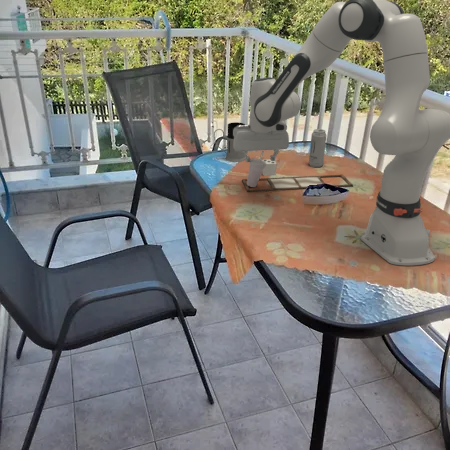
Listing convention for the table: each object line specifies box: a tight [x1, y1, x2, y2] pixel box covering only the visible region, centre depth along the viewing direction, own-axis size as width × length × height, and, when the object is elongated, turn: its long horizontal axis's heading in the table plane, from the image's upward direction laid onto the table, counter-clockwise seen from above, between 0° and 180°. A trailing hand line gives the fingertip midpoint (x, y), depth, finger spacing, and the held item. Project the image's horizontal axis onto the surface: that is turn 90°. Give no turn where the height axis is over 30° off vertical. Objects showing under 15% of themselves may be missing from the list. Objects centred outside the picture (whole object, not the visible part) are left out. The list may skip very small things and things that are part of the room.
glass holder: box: [213, 121, 246, 163], centre depth 200 cm, size 9×14×15 cm, turn 105°
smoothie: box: [246, 150, 266, 188], centre depth 174 cm, size 6×6×14 cm
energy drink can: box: [308, 128, 327, 168], centre depth 194 cm, size 6×6×15 cm
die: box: [261, 159, 278, 177], centre depth 188 cm, size 5×5×5 cm
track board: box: [241, 174, 354, 193], centre depth 180 cm, size 11×41×1 cm, turn 98°
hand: (260, 161), depth 173 cm, fingers open, 8 cm apart
